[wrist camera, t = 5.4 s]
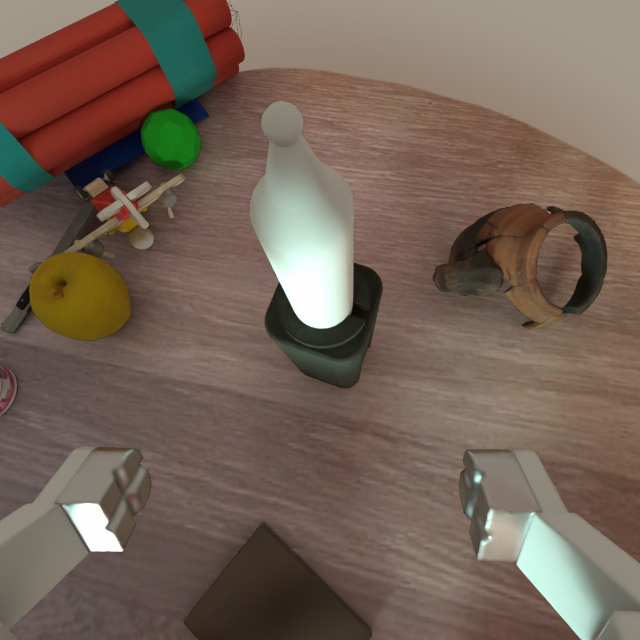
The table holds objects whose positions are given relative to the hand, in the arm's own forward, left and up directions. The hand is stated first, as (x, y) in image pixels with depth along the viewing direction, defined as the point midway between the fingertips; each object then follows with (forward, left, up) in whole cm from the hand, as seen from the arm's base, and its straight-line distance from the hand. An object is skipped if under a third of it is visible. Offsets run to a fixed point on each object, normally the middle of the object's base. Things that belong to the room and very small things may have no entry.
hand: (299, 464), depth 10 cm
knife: (+31, +4, -20) cm, 37 cm away
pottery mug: (-2, -18, -21) cm, 28 cm away
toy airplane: (+26, -4, -15) cm, 30 cm away
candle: (+4, -5, -21) cm, 22 cm away
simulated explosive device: (+34, -11, -11) cm, 37 cm away
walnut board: (-5, +12, -21) cm, 24 cm away
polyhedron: (+27, -11, -21) cm, 36 cm away
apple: (+21, +4, -21) cm, 30 cm away
